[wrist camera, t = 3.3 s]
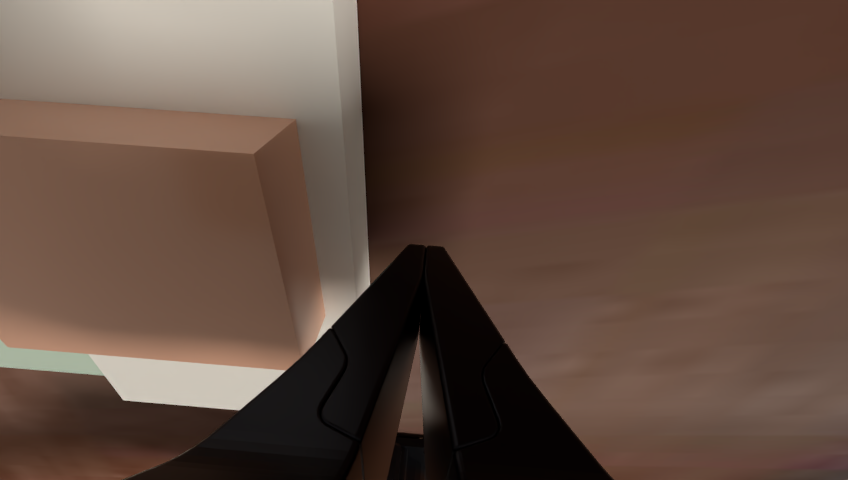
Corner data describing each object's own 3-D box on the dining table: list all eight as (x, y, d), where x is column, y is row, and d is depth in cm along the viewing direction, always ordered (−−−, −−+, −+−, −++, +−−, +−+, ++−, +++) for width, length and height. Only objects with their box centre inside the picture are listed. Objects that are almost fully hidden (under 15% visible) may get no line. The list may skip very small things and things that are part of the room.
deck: (374, 377, 16) (365, 421, 14) (156, 359, 16) (123, 400, 15) (343, -286, 6) (301, -394, 4) (-247, -314, 6) (-509, -429, 4)
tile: (325, 315, 11) (304, 371, 9) (72, 295, 11) (7, 347, 10) (295, 119, 8) (253, 153, 6) (-69, 93, 8) (-207, 120, 6)
